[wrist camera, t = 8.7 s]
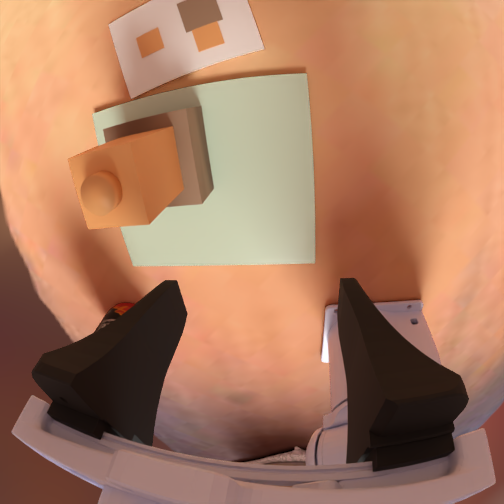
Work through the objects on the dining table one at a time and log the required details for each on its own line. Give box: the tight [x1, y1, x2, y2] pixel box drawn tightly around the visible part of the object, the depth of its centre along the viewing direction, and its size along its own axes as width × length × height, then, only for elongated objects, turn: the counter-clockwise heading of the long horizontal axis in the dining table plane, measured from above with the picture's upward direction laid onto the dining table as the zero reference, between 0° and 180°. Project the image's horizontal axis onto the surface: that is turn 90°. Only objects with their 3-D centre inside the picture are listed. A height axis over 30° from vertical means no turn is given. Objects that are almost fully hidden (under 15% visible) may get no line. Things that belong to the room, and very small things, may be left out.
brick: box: [68, 126, 184, 230], centre depth 14 cm, size 4×4×6 cm
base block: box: [103, 106, 214, 207], centre depth 18 cm, size 6×6×3 cm
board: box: [92, 73, 315, 266], centre depth 20 cm, size 16×14×1 cm
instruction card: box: [109, 0, 265, 99], centre depth 14 cm, size 10×7×1 cm
